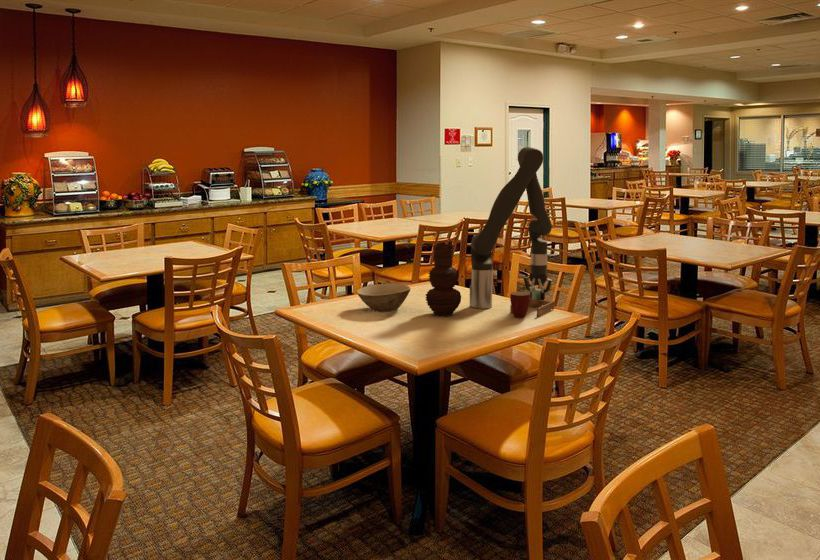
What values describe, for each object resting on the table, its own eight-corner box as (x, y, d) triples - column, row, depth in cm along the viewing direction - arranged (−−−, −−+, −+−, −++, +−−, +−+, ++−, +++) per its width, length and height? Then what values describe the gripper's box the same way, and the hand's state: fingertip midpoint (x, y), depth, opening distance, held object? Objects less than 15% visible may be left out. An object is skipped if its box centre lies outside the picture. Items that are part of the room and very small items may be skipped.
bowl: (347, 313, 298) (347, 291, 296) (371, 302, 320) (370, 281, 318) (397, 318, 290) (397, 294, 288) (418, 306, 311) (418, 284, 309)
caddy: (510, 313, 296) (510, 305, 295) (526, 305, 310) (526, 298, 309) (538, 317, 289) (538, 308, 288) (553, 309, 303) (554, 301, 302)
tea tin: (531, 302, 314) (532, 289, 313) (535, 301, 317) (535, 288, 316) (539, 303, 312) (540, 290, 311) (543, 302, 315) (543, 289, 314)
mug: (527, 321, 282) (528, 297, 281) (508, 319, 284) (508, 296, 283) (530, 315, 292) (530, 292, 291) (511, 314, 294) (511, 291, 293)
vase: (417, 314, 295) (417, 245, 289) (441, 308, 306) (441, 241, 300) (445, 320, 284) (445, 248, 279) (468, 314, 295) (468, 244, 290)
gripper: (520, 263, 312) (519, 300, 315) (550, 265, 304) (549, 303, 307) (527, 260, 318) (526, 297, 321) (556, 263, 310) (555, 300, 314)
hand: (537, 300), depth 314 cm, fingers closed on tea tin, 4 cm apart
